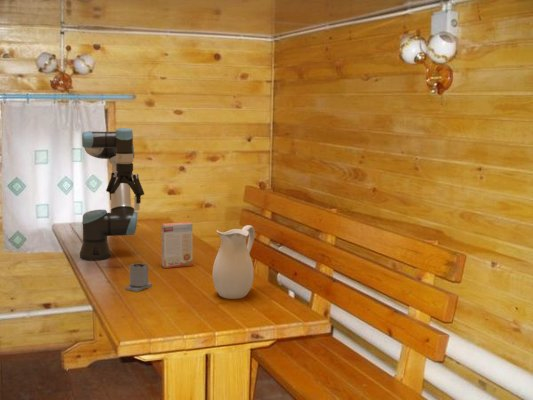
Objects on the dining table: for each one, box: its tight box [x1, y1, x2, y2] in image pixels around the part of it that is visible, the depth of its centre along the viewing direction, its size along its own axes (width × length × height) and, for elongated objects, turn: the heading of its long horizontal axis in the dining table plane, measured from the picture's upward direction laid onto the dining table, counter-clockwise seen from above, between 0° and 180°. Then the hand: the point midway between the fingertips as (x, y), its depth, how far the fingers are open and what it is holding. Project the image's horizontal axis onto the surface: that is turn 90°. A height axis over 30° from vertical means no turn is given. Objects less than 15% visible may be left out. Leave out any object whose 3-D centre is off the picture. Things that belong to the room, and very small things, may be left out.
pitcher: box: [212, 224, 256, 300], centre depth 264 cm, size 24×17×28 cm
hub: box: [129, 262, 149, 287], centre depth 269 cm, size 7×7×8 cm
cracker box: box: [160, 221, 194, 269], centre depth 304 cm, size 14×6×21 cm, turn 113°
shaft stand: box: [125, 282, 153, 293], centre depth 269 cm, size 6×10×8 cm, turn 152°
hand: (125, 209), depth 293 cm, fingers open, 13 cm apart
